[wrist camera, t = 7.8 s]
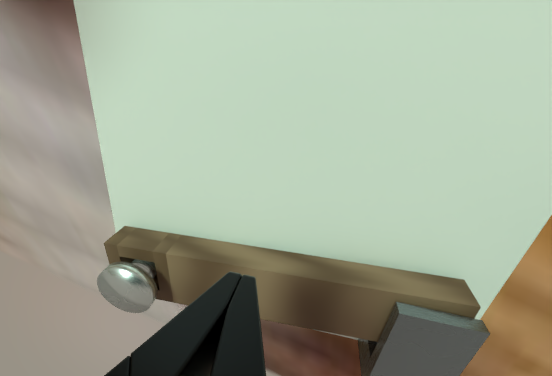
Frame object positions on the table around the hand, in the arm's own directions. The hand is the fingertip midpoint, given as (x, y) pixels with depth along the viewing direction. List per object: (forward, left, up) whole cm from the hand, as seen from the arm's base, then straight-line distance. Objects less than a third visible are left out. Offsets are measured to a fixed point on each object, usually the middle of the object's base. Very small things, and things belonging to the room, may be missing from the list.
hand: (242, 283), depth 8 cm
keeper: (-9, +7, -8) cm, 14 cm away
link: (-1, +6, -7) cm, 9 cm away
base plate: (-1, -1, -8) cm, 8 cm away
